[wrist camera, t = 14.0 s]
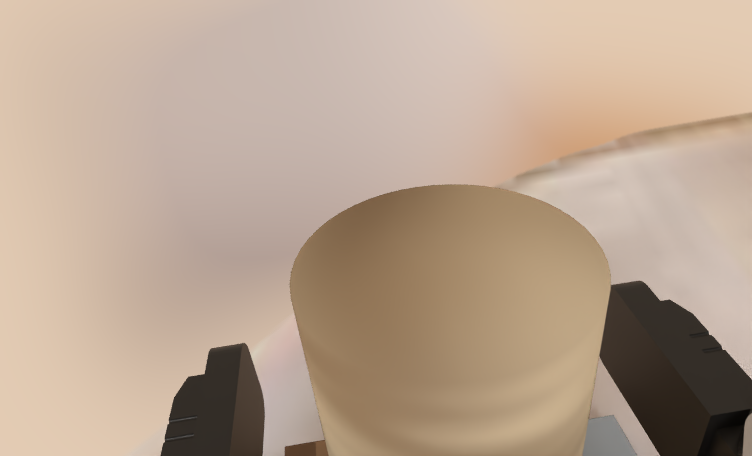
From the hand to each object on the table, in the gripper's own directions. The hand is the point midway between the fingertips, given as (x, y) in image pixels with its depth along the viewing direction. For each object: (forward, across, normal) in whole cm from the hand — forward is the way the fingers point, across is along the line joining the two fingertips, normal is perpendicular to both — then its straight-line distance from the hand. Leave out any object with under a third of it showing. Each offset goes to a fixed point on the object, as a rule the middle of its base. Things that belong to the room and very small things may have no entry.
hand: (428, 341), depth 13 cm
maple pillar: (-2, 0, +8) cm, 9 cm away
